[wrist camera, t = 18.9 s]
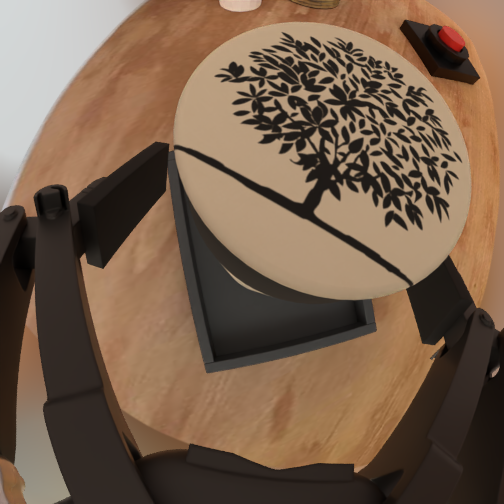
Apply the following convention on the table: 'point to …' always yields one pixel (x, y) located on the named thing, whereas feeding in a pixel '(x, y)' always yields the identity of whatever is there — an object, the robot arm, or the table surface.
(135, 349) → the table surface
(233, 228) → the travel mug
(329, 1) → the wooden mug
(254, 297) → the tray
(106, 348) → the table surface
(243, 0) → the white cup
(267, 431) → the table surface
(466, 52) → the control block
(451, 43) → the button
